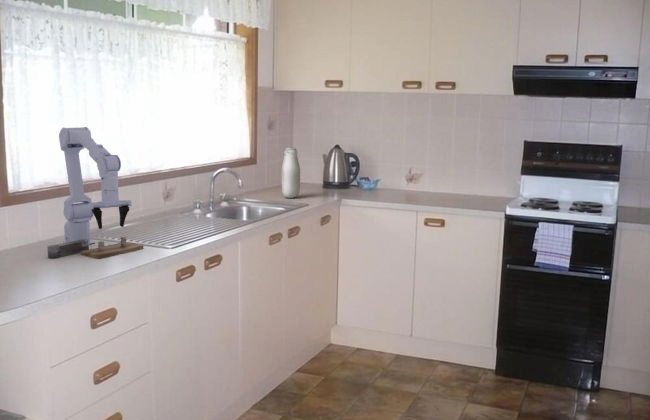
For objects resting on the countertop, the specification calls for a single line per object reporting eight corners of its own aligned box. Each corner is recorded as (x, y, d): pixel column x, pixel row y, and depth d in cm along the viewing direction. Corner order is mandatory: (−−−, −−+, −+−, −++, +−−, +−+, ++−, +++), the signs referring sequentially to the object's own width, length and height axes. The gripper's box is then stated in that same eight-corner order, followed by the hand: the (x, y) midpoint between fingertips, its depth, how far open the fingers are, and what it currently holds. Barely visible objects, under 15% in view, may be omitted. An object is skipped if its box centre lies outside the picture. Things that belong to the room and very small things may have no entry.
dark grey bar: (45, 257, 242) (44, 246, 241) (84, 249, 255) (83, 238, 254) (52, 259, 240) (51, 248, 239) (91, 251, 253) (90, 240, 252)
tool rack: (80, 254, 247) (80, 242, 246) (125, 244, 263) (125, 233, 262) (98, 258, 241) (98, 246, 240) (143, 248, 257) (143, 236, 257)
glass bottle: (292, 195, 391) (292, 146, 386) (303, 198, 383) (303, 147, 378) (277, 197, 384) (278, 147, 379) (289, 199, 377) (289, 148, 372)
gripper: (91, 192, 237) (93, 231, 239) (133, 189, 245) (134, 227, 247) (86, 189, 243) (88, 227, 245) (127, 187, 251) (128, 224, 253)
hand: (111, 227), depth 247 cm, fingers open, 7 cm apart
